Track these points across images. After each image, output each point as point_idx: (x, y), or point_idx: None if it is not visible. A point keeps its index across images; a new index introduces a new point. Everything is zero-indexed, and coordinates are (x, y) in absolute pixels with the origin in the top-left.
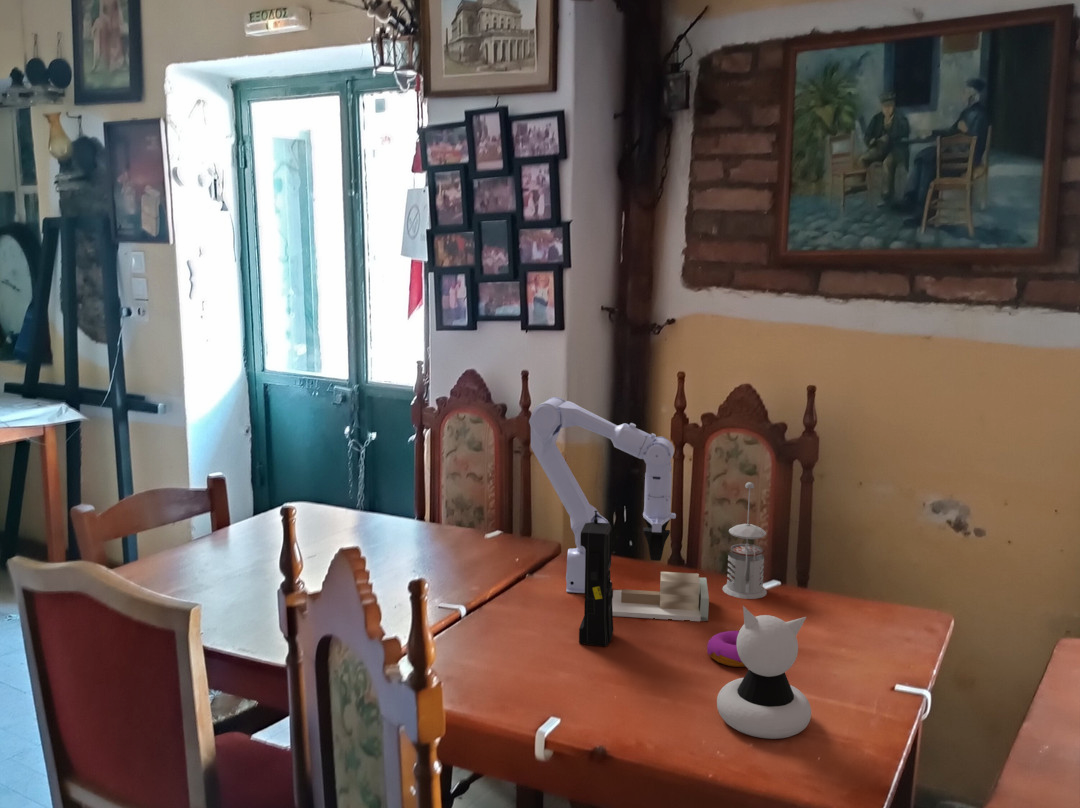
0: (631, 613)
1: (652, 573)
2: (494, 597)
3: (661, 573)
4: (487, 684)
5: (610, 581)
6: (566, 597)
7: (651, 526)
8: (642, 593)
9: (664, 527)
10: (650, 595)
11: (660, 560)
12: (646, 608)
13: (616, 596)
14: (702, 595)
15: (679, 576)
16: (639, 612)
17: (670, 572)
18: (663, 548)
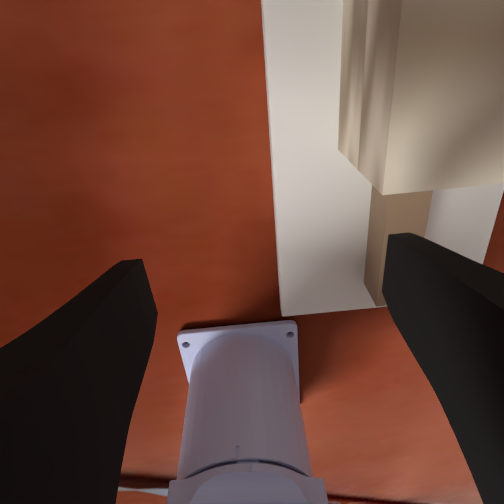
0: (488, 235)
1: (6, 211)
2: (350, 496)
3: (414, 187)
4: None
5: (191, 333)
6: (329, 400)
7: (100, 493)
8: (419, 231)
9: (46, 391)
10: (429, 196)
11: (408, 232)
12: (455, 190)
13: (341, 300)
14: None
15: (477, 55)
16: (493, 210)
17: (395, 131)
18: (498, 271)
